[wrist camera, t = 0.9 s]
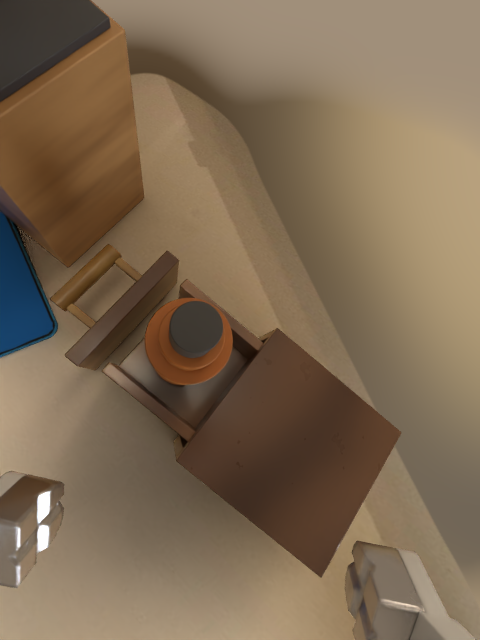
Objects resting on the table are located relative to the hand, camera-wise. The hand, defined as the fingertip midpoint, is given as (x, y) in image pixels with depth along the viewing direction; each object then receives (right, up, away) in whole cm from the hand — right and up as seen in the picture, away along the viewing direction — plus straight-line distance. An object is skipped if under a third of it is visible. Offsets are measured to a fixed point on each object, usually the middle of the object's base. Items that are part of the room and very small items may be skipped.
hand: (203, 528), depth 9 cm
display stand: (-15, +17, +22) cm, 32 cm away
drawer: (-6, +4, +20) cm, 21 cm away
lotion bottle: (-4, +2, +19) cm, 20 cm away
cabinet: (+4, -5, +22) cm, 22 cm away
